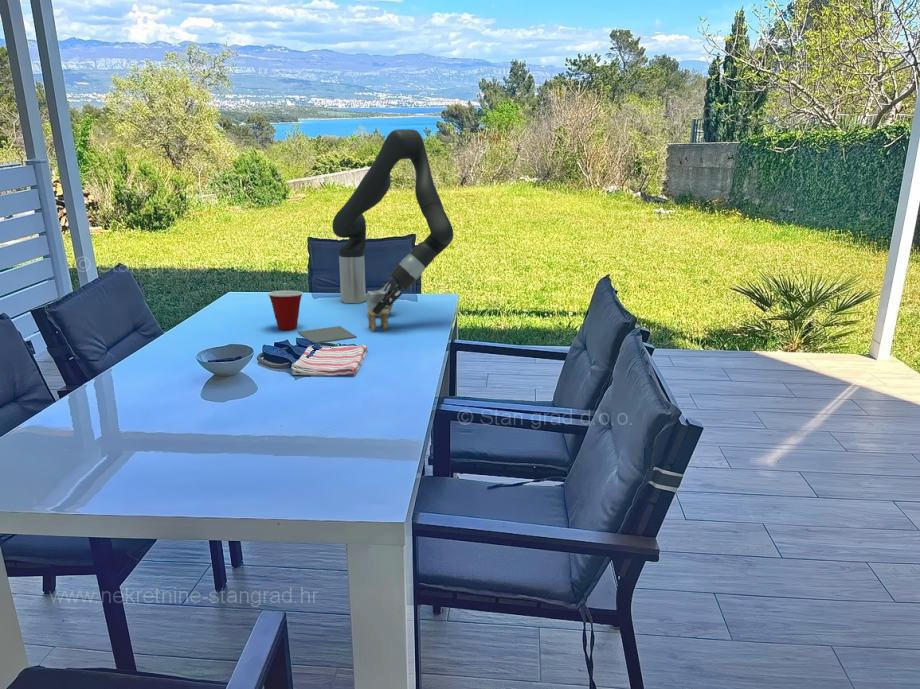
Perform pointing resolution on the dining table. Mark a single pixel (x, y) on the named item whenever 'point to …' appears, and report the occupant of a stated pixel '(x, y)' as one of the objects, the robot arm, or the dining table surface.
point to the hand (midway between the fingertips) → (372, 310)
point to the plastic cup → (286, 308)
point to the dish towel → (330, 361)
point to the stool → (372, 301)
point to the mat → (327, 334)
